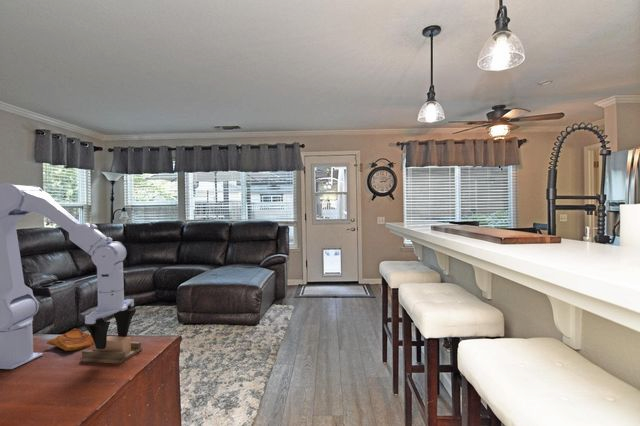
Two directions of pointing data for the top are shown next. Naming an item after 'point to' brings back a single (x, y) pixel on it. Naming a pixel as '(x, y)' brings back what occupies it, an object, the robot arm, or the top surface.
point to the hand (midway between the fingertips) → (112, 342)
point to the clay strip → (117, 344)
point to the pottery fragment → (72, 340)
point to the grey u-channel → (110, 354)
